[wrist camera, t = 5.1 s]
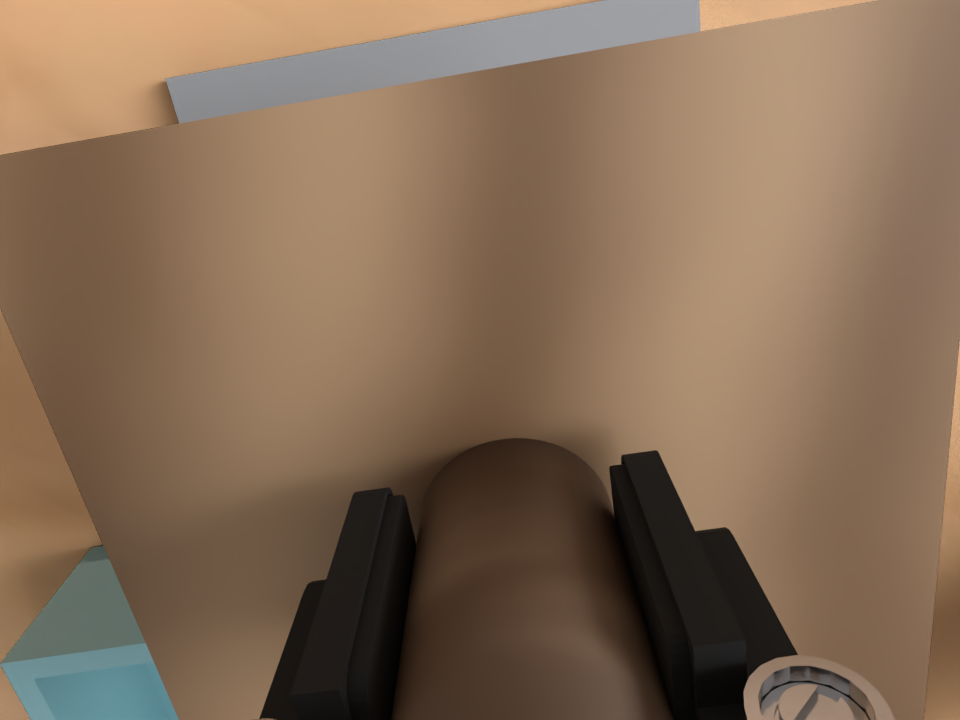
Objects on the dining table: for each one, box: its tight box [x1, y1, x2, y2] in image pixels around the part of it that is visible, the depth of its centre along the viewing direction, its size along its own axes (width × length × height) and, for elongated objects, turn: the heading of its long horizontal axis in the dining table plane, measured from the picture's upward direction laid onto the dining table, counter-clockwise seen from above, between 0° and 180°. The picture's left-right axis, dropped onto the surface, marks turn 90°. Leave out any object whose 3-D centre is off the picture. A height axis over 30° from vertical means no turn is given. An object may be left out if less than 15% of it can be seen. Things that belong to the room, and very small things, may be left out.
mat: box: [166, 0, 700, 123], centre depth 24 cm, size 16×16×1 cm
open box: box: [0, 546, 179, 720], centre depth 27 cm, size 12×12×6 cm
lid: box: [0, 0, 960, 720], centre depth 9 cm, size 14×14×7 cm
